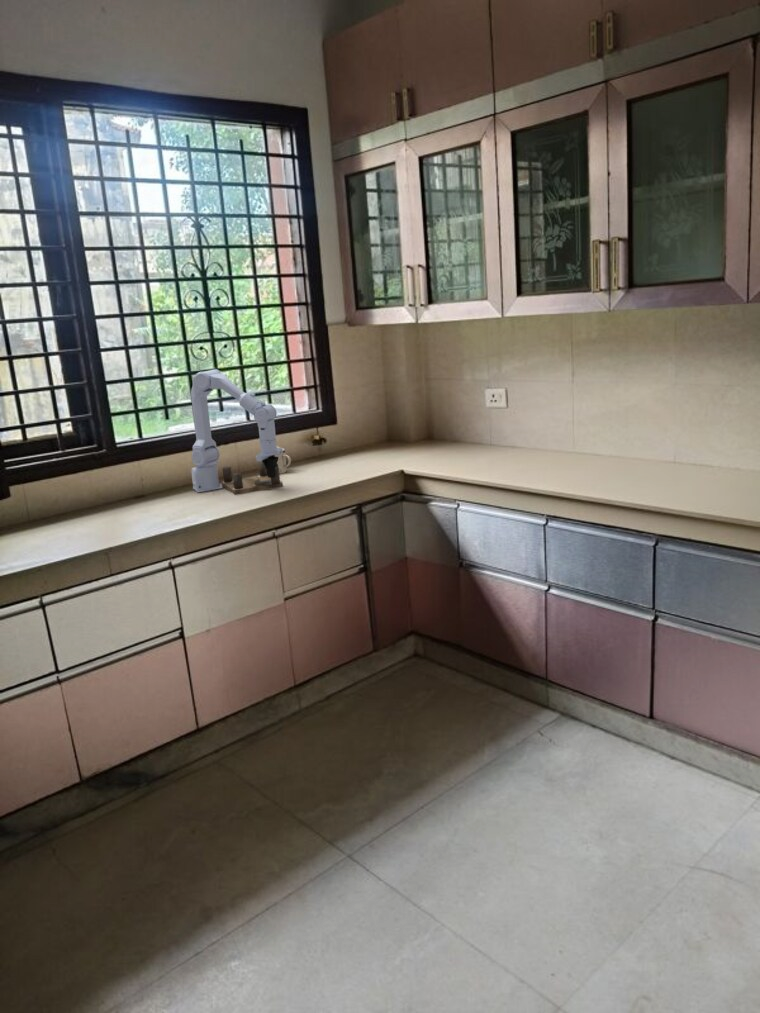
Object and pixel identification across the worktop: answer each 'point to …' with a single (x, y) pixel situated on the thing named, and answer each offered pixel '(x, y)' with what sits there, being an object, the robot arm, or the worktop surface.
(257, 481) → the crank handle
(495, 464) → the worktop surface
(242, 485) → the peg board with pegs
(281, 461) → the teacup with lid
